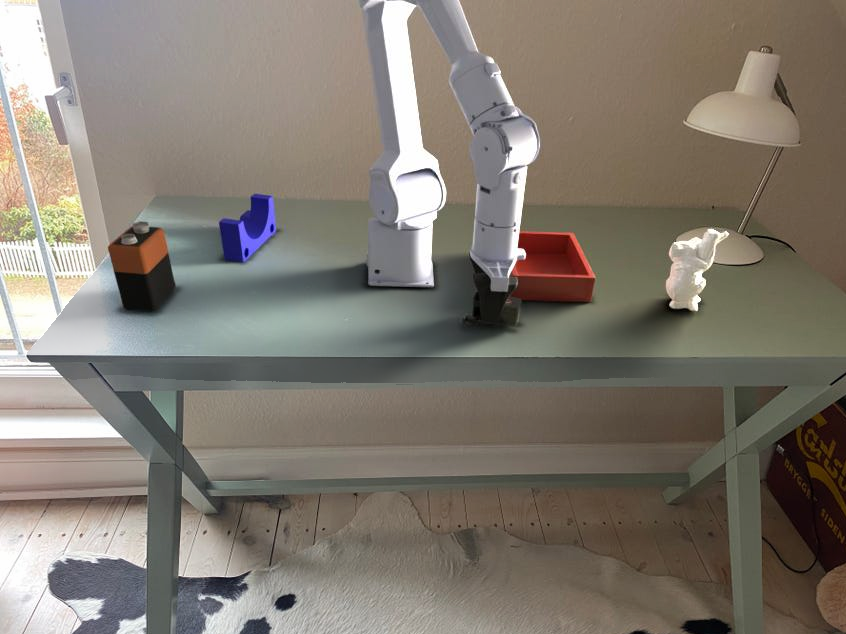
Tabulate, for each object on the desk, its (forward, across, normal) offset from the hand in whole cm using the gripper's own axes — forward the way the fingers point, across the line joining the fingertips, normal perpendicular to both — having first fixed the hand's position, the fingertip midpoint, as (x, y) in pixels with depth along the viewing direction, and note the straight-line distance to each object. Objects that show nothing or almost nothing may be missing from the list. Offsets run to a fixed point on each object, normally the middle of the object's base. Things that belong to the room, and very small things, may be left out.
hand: (488, 312), depth 90 cm
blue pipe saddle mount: (+2, +22, +36) cm, 42 cm away
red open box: (+1, +14, -10) cm, 17 cm away
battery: (+2, +4, +45) cm, 45 cm away
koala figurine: (+2, +6, -30) cm, 31 cm away
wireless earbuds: (+1, 0, 0) cm, 1 cm away
